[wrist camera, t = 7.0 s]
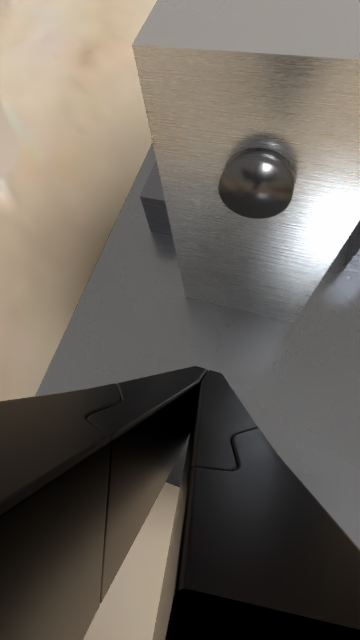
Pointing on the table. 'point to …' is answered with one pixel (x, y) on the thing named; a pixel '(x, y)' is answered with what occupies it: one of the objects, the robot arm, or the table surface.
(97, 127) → the table surface
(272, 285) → the block
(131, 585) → the table surface
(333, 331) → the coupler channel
